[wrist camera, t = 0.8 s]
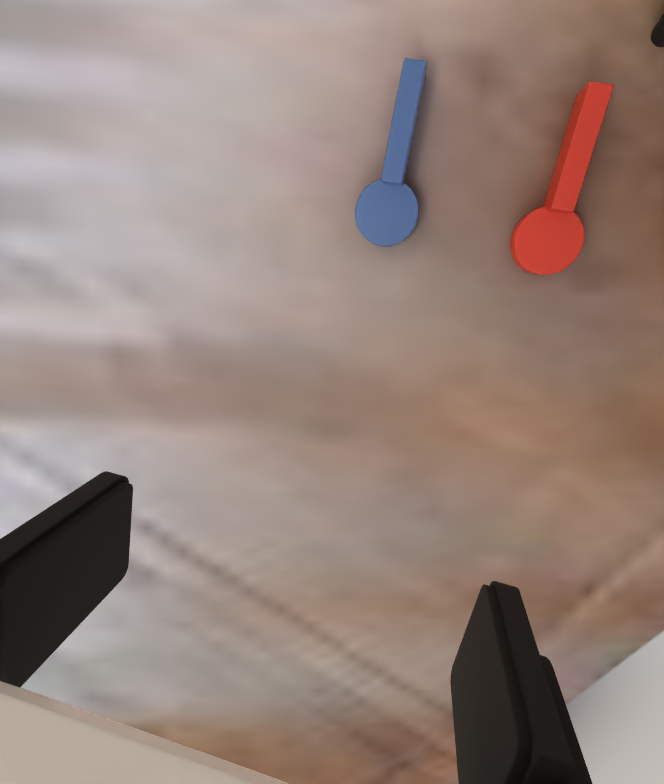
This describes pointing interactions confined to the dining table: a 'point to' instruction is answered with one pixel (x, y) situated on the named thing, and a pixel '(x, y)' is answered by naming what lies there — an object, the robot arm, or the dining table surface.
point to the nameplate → (658, 33)
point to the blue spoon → (395, 169)
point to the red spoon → (563, 192)
